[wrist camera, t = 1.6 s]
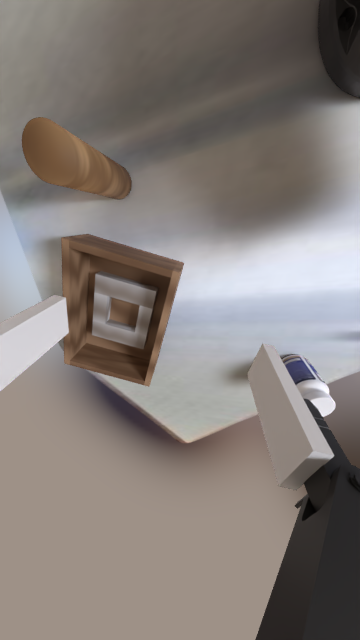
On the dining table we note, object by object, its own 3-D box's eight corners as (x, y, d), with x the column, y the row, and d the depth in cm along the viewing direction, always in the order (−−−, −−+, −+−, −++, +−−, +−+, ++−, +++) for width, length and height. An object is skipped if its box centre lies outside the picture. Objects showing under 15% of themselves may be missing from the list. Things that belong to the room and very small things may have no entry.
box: (87, 234, 31) (61, 237, 25) (184, 262, 32) (180, 272, 26) (83, 343, 41) (64, 363, 36) (156, 363, 42) (149, 386, 36)
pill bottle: (272, 373, 40) (292, 416, 31) (283, 350, 37) (308, 391, 28) (300, 378, 40) (328, 423, 31) (313, 356, 37) (348, 399, 28)
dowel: (104, 160, 26) (18, 109, 14) (133, 169, 26) (73, 126, 14) (102, 194, 28) (25, 175, 16) (129, 202, 28) (73, 190, 16)
